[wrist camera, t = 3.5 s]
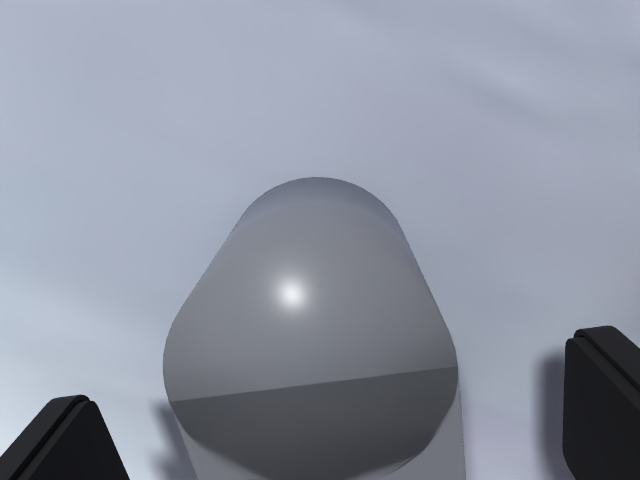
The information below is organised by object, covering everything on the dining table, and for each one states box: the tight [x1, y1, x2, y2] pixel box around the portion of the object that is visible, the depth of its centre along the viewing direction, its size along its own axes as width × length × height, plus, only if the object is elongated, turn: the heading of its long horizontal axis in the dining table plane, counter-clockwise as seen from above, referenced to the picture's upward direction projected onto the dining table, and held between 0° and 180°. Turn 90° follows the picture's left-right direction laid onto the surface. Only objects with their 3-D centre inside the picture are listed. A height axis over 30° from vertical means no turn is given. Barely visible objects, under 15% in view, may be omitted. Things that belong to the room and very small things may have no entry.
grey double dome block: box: [163, 177, 466, 480], centre depth 9 cm, size 4×11×4 cm, turn 10°
